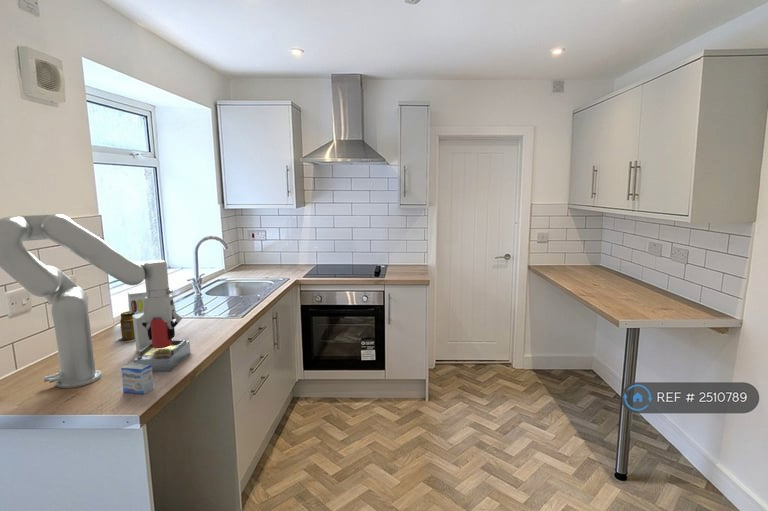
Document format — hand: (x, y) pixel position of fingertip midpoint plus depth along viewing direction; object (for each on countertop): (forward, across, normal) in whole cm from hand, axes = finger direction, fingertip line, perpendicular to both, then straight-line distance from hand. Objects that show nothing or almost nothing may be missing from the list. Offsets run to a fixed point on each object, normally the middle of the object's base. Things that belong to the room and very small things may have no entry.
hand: (161, 338), depth 154 cm
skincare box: (+10, +12, -13) cm, 21 cm away
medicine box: (+10, -2, +23) cm, 25 cm away
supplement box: (+10, +34, -50) cm, 61 cm away
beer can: (+3, 0, 0) cm, 3 cm away
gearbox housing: (+10, 0, 0) cm, 10 cm away
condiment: (+10, +28, -27) cm, 40 cm away
